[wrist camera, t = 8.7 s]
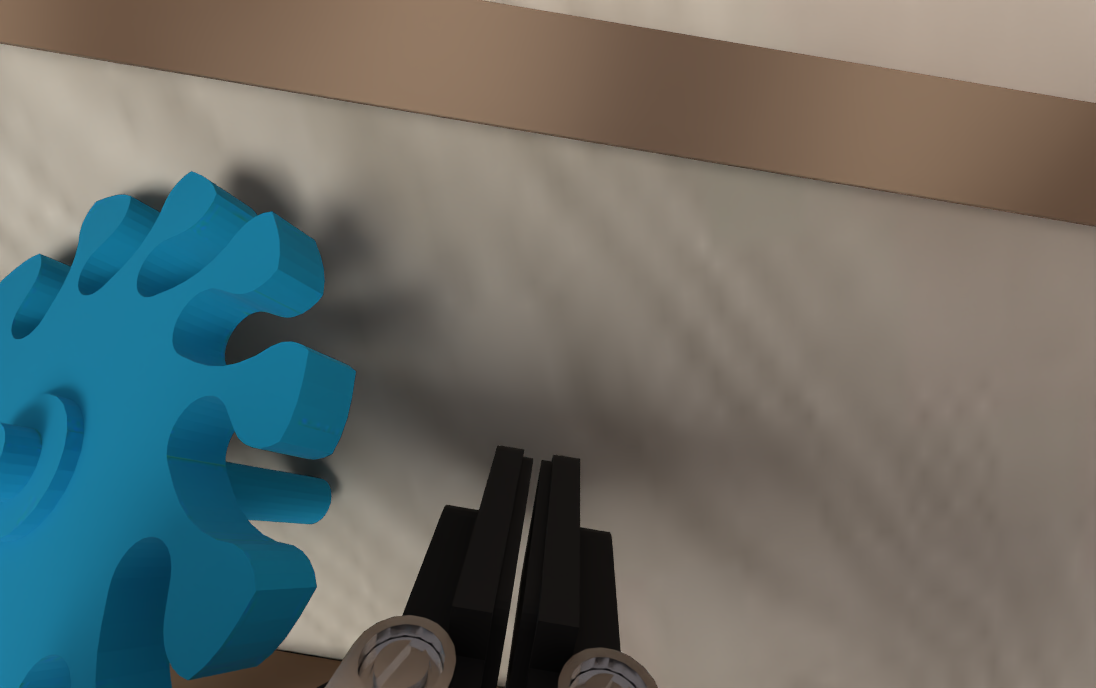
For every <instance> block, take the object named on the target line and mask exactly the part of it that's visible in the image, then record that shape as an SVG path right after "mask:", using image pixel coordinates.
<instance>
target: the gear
mask: <svg viewBox="0 0 1096 688" xmlns="http://www.w3.org/2000/svg"><path fill="white" fill-rule="evenodd" d="M324 283H325V279H324V268H323V263H322V259H321V255H320V252H319V250H318V247H317V244H316V242H315V240H314V239H312V238H311V237H309V236H308V235H306V234H305V233H303V232H302V231H300V230H299V229H297V228H296V227H294V226H293V225H291V224H290V223H289V222H287V221H286V220H284V219H283V218H281V217H280V216H278V215H277V214H275V213H274V212H272V211H271V212H266V213H262V214H260V215H257V214H256V213H255V211H254V210H253V209H252V208H250V207H249V206H247V205H246V204H244V203H243V202H241V201H240V200H238V199H237V198H235V197H234V196H232V195H231V194H229V193H228V192H226V191H225V190H223V189H222V188H220V187H219V186H217V185H216V184H214V183H212V182H211V181H209V180H208V179H206V178H205V177H203V176H202V175H199V174H197V173H195V172H192V171H191V172H189V173H188V174H187V175H185V176H184V177H183V178H182V179H181V180H180V181H179V182H178V183H177V184H176V186H175V187H174V188H173V189H172V191H171V192H170V194H169V196H168V197H167V199H166V201H165V203H164V205H163V208H162V210H161V212H158V211H157V210H155V209H153V208H151V207H149V206H148V205H146V204H144V203H142V202H140V201H139V200H137V199H135V198H133V197H131V196H128V195H125V194H124V195H115V196H111V197H107V198H105V199H102V200H99V201H96V203H95V204H94V205H93V206H92V208H91V209H90V211H89V212H88V214H87V215H86V217H85V219H84V222H83V224H82V227H81V230H80V235H79V243H78V247H77V251H76V255H75V258H74V261H73V263H72V266H68V265H66V264H63V263H61V262H59V261H56V260H54V259H51V258H49V257H46V256H44V255H41V254H38V255H35V256H33V257H31V258H30V259H28V260H27V261H25V262H23V263H22V264H21V265H20V266H18V267H17V268H16V269H15V270H13V271H12V272H11V273H10V274H9V275H8V276H6V277H5V278H4V279H3V280H2V281H1V283H0V688H172V683H171V675H170V664H171V666H172V668H173V669H174V670H175V672H176V673H177V674H178V675H179V676H181V677H182V678H184V679H186V680H193V679H198V678H203V677H208V676H213V675H217V674H222V673H227V672H232V671H237V670H242V669H247V668H252V667H256V666H258V665H259V664H261V663H262V662H263V661H264V660H265V659H266V658H268V657H269V656H270V655H271V654H272V653H273V652H274V651H275V650H276V649H277V647H278V646H279V645H280V644H281V643H282V642H283V640H284V639H285V638H286V637H287V635H288V634H289V632H290V631H291V629H292V628H293V626H294V625H295V623H296V622H297V620H298V619H299V617H300V616H301V614H302V612H303V610H304V609H305V607H306V605H307V603H308V602H309V600H310V598H311V596H312V595H313V593H314V591H315V589H316V588H317V585H316V579H315V572H314V570H313V567H312V565H311V563H310V560H309V559H308V558H307V556H306V555H305V554H304V553H303V551H301V550H300V549H298V548H297V547H295V546H294V545H289V544H285V543H281V542H277V541H275V540H273V539H271V538H269V537H267V536H265V535H263V534H262V533H261V532H260V531H258V530H257V529H256V528H255V527H254V526H253V525H252V524H251V523H250V522H249V521H248V520H259V521H272V522H286V523H300V524H314V523H316V522H318V521H319V520H321V519H322V518H323V517H324V516H325V514H326V513H327V511H328V509H329V506H330V503H331V497H332V496H331V489H330V486H329V484H328V483H327V481H325V480H324V479H321V478H316V477H311V476H305V475H299V474H293V473H288V472H282V471H276V470H270V469H265V468H259V467H253V466H247V465H242V464H236V463H230V462H226V452H227V447H228V444H229V442H230V439H231V437H232V435H233V433H234V431H235V433H236V435H237V437H238V438H239V439H240V440H241V441H242V442H243V443H244V444H246V445H248V446H250V447H253V448H257V449H262V450H267V451H272V452H277V453H281V454H286V455H291V456H296V457H300V458H305V459H314V460H315V459H320V458H324V457H326V456H329V455H331V454H333V452H334V450H335V448H336V446H337V444H338V442H339V440H340V438H341V435H342V432H343V429H344V427H345V424H346V421H347V418H348V413H349V409H350V404H351V400H352V395H353V388H354V382H355V375H356V371H355V370H354V369H353V368H351V367H350V366H349V365H347V364H345V363H342V362H340V361H338V360H336V359H333V358H331V357H329V356H327V355H324V354H322V353H320V352H318V351H315V350H313V349H311V348H309V347H306V346H304V345H302V344H299V343H296V342H293V341H292V342H281V343H278V344H275V345H272V346H271V347H269V348H267V349H266V350H264V351H262V352H261V353H259V354H257V355H256V356H254V357H251V358H249V359H246V360H244V361H241V362H239V363H235V364H230V365H226V362H225V351H226V346H227V343H228V340H229V338H230V336H231V334H232V332H233V331H234V329H235V328H236V326H237V325H238V324H239V323H240V322H241V321H242V320H243V319H244V318H246V317H247V316H248V315H250V314H253V313H255V312H260V311H262V312H267V313H270V314H274V315H277V316H280V317H285V318H289V317H295V316H298V315H300V314H303V313H304V312H306V311H307V310H309V309H310V308H311V307H313V306H314V305H315V304H316V303H317V302H318V301H319V300H320V298H321V297H322V296H323V292H324Z"/></svg>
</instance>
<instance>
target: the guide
mask: <svg viewBox="0 0 1096 688" xmlns="http://www.w3.org/2000/svg"><path fill="white" fill-rule="evenodd" d="M0 43H1V44H7V45H13V46H19V47H25V48H31V49H37V50H43V51H49V52H55V53H61V54H67V55H73V56H78V57H84V58H90V59H96V60H102V61H108V62H114V63H120V64H126V65H132V66H138V67H144V68H150V69H156V70H162V71H168V72H174V73H180V74H186V75H192V76H198V77H204V78H210V79H216V80H222V81H228V82H234V83H240V84H246V85H252V86H258V87H264V88H270V89H276V90H282V91H288V92H294V93H300V94H306V95H312V96H318V97H324V98H330V99H336V100H342V101H348V102H354V103H360V104H366V105H371V106H377V107H383V108H389V109H395V110H401V111H407V112H413V113H419V114H425V115H431V116H437V117H443V118H449V119H455V120H461V121H467V122H473V123H479V124H485V125H491V126H497V127H503V128H509V129H515V130H521V131H527V132H533V133H539V134H545V135H551V136H557V137H563V138H569V139H575V140H581V141H587V142H593V143H599V144H605V145H611V146H617V147H623V148H629V149H635V150H641V151H647V152H653V153H659V154H664V155H670V156H676V157H682V158H688V159H694V160H700V161H706V162H712V163H718V164H724V165H730V166H736V167H742V168H748V169H754V170H760V171H766V172H772V173H778V174H784V175H790V176H796V177H802V178H808V179H814V180H820V181H826V182H832V183H838V184H844V185H850V186H856V187H862V188H868V189H874V190H880V191H886V192H892V193H898V194H904V195H910V196H916V197H922V198H928V199H934V200H940V201H946V202H952V203H957V204H963V205H969V206H975V207H981V208H987V209H993V210H999V211H1005V212H1011V213H1017V214H1023V215H1029V216H1035V217H1041V218H1047V219H1053V220H1059V221H1065V222H1071V223H1077V224H1083V225H1089V226H1095V227H1096V103H1091V102H1085V101H1079V100H1073V99H1067V98H1061V97H1055V96H1049V95H1043V94H1037V93H1031V92H1025V91H1019V90H1013V89H1007V88H1001V87H995V86H989V85H983V84H977V83H971V82H965V81H959V80H953V79H948V78H942V77H936V76H930V75H924V74H918V73H912V72H906V71H900V70H894V69H888V68H882V67H876V66H870V65H864V64H858V63H852V62H846V61H840V60H834V59H828V58H822V57H816V56H810V55H804V54H798V53H792V52H786V51H780V50H774V49H768V48H762V47H757V46H751V45H745V44H739V43H733V42H727V41H721V40H715V39H709V38H703V37H697V36H691V35H685V34H679V33H673V32H667V31H661V30H655V29H649V28H643V27H637V26H631V25H625V24H619V23H613V22H607V21H601V20H595V19H589V18H583V17H577V16H572V15H566V14H560V13H554V12H548V11H542V10H536V9H530V8H524V7H518V6H512V5H506V4H500V3H494V2H488V1H482V0H0ZM341 662H342V661H337V660H331V659H325V658H319V657H313V656H307V655H301V654H294V653H288V652H282V651H276V650H275V651H274V652H273V653H272V654H271V655H270V656H269V657H268V658H266V659H265V660H264V661H263V662H262V663H261V664H259V665H258V666H256V667H252V668H247V669H242V670H237V671H232V672H227V673H222V674H217V675H213V676H208V677H203V678H198V679H193V680H186V679H184V678H182V677H181V676H179V675H178V674H177V673H176V672H175V670H174V669H173V668H172V666H171V664H170V675H171V683H172V688H317V687H318V686H320V685H322V684H324V683H326V682H328V681H329V680H330V679H331V677H332V676H333V674H334V673H335V671H336V670H337V668H338V667H339V665H340V664H341ZM496 688H500V687H496Z"/></svg>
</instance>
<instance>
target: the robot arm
mask: <svg viewBox="0 0 1096 688" xmlns="http://www.w3.org/2000/svg"><path fill="white" fill-rule="evenodd" d="M523 454H524V450H523V449H517V448H511V447H505V446H499V445H498V446H497V449H496V452H495V456H494V459H493V463H492V466H491V470H490V473H489V477H488V480H487V484H486V487H485V491H484V494H483V498H482V501H481V505H480V509H479V510H474V509H468V508H462V507H456V506H450V505H446V506H445V507H444V509H443V511H442V514H441V516H440V519H439V522H438V524H437V527H436V529H435V532H434V535H433V537H432V540H431V542H430V545H429V548H428V550H427V553H426V555H425V558H424V561H423V563H422V566H421V568H420V571H419V574H418V576H417V579H416V581H415V584H414V587H413V589H412V592H411V594H410V597H409V600H408V602H407V605H406V607H405V610H404V613H403V615H402V616H396V617H391V618H389V619H386V620H383V621H380V622H378V623H376V624H375V625H373V626H372V627H370V628H369V629H367V630H366V631H364V632H363V633H362V635H361V636H360V637H359V638H358V639H357V640H356V641H355V643H354V644H353V645H352V647H351V648H350V650H349V651H348V653H347V654H346V656H345V657H344V659H343V660H342V662H341V664H340V665H339V667H338V668H337V670H336V671H335V673H334V674H333V676H332V677H331V679H330V680H329V681H328V682H326V683H324V684H322V685H320V686H318V687H317V688H496V687H497V681H498V675H499V670H500V664H501V658H502V652H503V646H504V640H505V635H506V629H507V623H508V617H509V611H510V605H511V598H512V592H513V586H514V579H515V573H516V566H517V560H518V554H519V547H520V541H521V535H522V528H523V522H524V515H525V509H526V503H527V496H528V490H529V484H530V477H531V471H532V464H533V458H527V457H523ZM505 688H658V687H657V685H656V683H655V681H654V679H653V678H652V677H651V675H650V674H649V673H648V672H647V670H646V669H645V668H644V667H643V666H642V665H641V664H639V663H638V662H637V661H635V660H634V659H633V658H632V657H630V656H628V655H626V654H624V653H621V651H620V638H619V625H618V612H617V599H616V585H615V572H614V559H613V546H612V537H611V534H610V532H605V531H599V530H593V529H587V528H581V527H580V459H577V458H571V457H565V456H559V455H553V458H552V462H551V461H545V460H542V461H541V467H540V472H539V478H538V484H537V489H536V495H535V501H534V506H533V512H532V518H531V523H530V529H529V535H528V540H527V546H526V552H525V557H524V563H523V569H522V575H521V581H520V588H519V595H518V602H517V609H516V616H515V623H514V630H513V637H512V645H511V652H510V659H509V666H508V673H507V680H506V687H505Z"/></svg>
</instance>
